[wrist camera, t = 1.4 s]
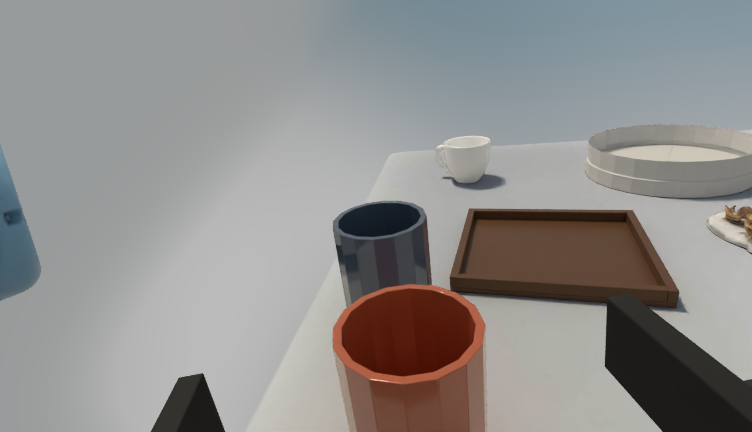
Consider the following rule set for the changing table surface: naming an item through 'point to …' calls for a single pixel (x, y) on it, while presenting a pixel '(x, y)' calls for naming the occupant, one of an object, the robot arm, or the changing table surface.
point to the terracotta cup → (412, 361)
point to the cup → (465, 157)
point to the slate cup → (381, 247)
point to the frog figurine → (733, 226)
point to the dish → (671, 160)
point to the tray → (560, 256)
